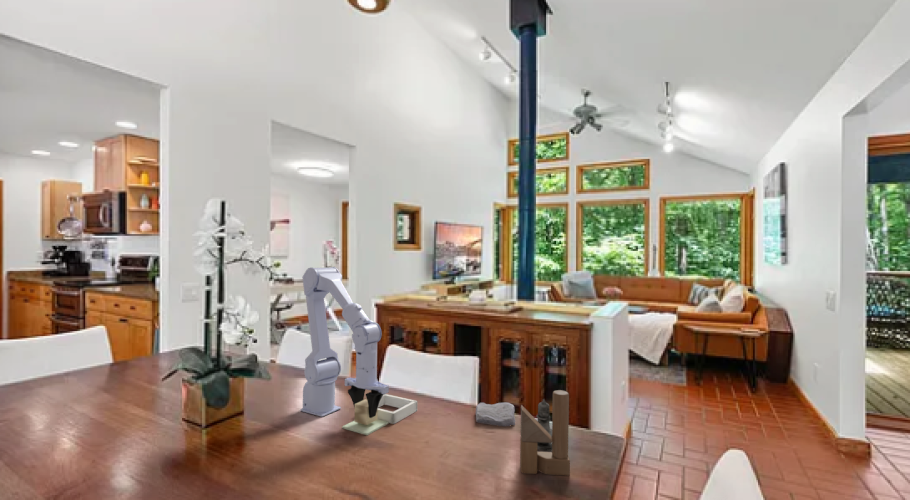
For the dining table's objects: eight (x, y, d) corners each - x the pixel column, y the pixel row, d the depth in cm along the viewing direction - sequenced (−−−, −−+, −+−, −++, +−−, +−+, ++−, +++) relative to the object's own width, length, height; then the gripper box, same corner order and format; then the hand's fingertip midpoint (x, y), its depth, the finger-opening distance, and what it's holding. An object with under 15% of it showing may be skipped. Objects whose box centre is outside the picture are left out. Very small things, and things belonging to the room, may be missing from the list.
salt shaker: (541, 452, 104) (542, 404, 104) (526, 443, 110) (527, 396, 110) (559, 448, 107) (560, 400, 107) (544, 438, 112) (545, 393, 112)
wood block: (354, 421, 118) (354, 403, 118) (365, 416, 122) (365, 399, 122) (366, 425, 116) (367, 406, 116) (377, 419, 120) (377, 402, 120)
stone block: (516, 433, 120) (514, 413, 130) (516, 418, 119) (514, 399, 129) (475, 433, 121) (475, 413, 131) (474, 418, 120) (475, 399, 130)
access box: (358, 415, 127) (359, 405, 127) (384, 402, 137) (384, 393, 137) (393, 424, 120) (393, 413, 121) (417, 410, 131) (417, 401, 131)
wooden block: (520, 465, 98) (520, 388, 98) (567, 468, 97) (568, 389, 97) (521, 474, 94) (522, 393, 94) (570, 476, 93) (571, 395, 93)
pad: (342, 428, 117) (342, 426, 117) (364, 417, 125) (364, 415, 125) (367, 435, 113) (367, 433, 113) (388, 423, 121) (388, 421, 121)
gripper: (395, 367, 119) (395, 415, 119) (356, 360, 126) (356, 405, 126) (379, 373, 113) (379, 424, 113) (339, 365, 120) (338, 413, 120)
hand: (365, 414), depth 119 cm, fingers closed on wood block, 4 cm apart
